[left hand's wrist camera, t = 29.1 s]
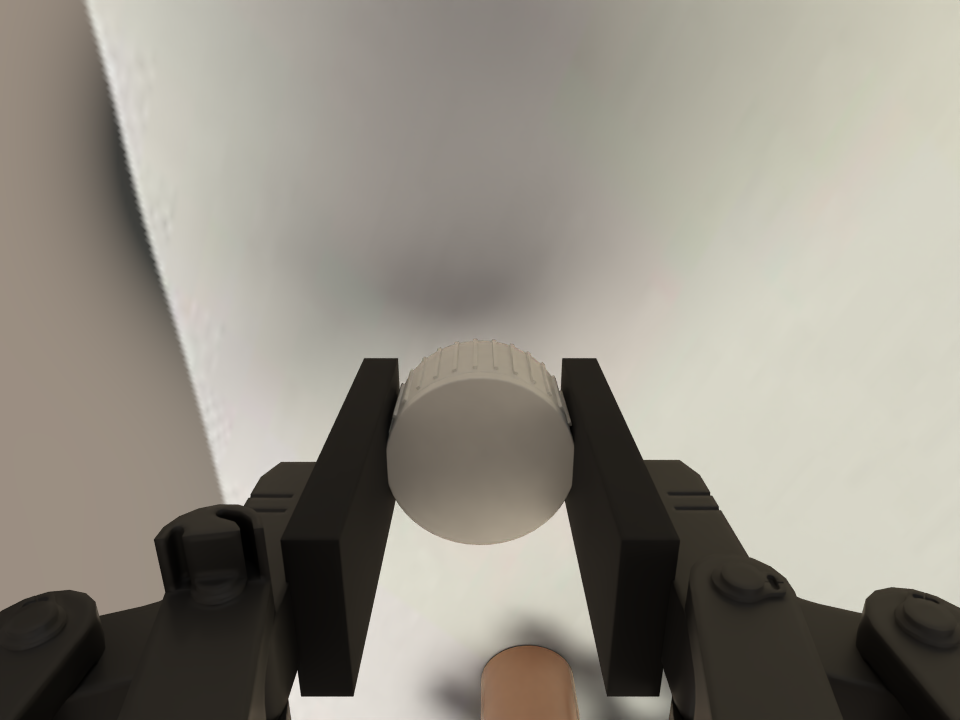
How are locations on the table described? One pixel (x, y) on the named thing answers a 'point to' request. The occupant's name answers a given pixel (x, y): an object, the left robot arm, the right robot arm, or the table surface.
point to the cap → (480, 444)
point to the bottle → (528, 686)
